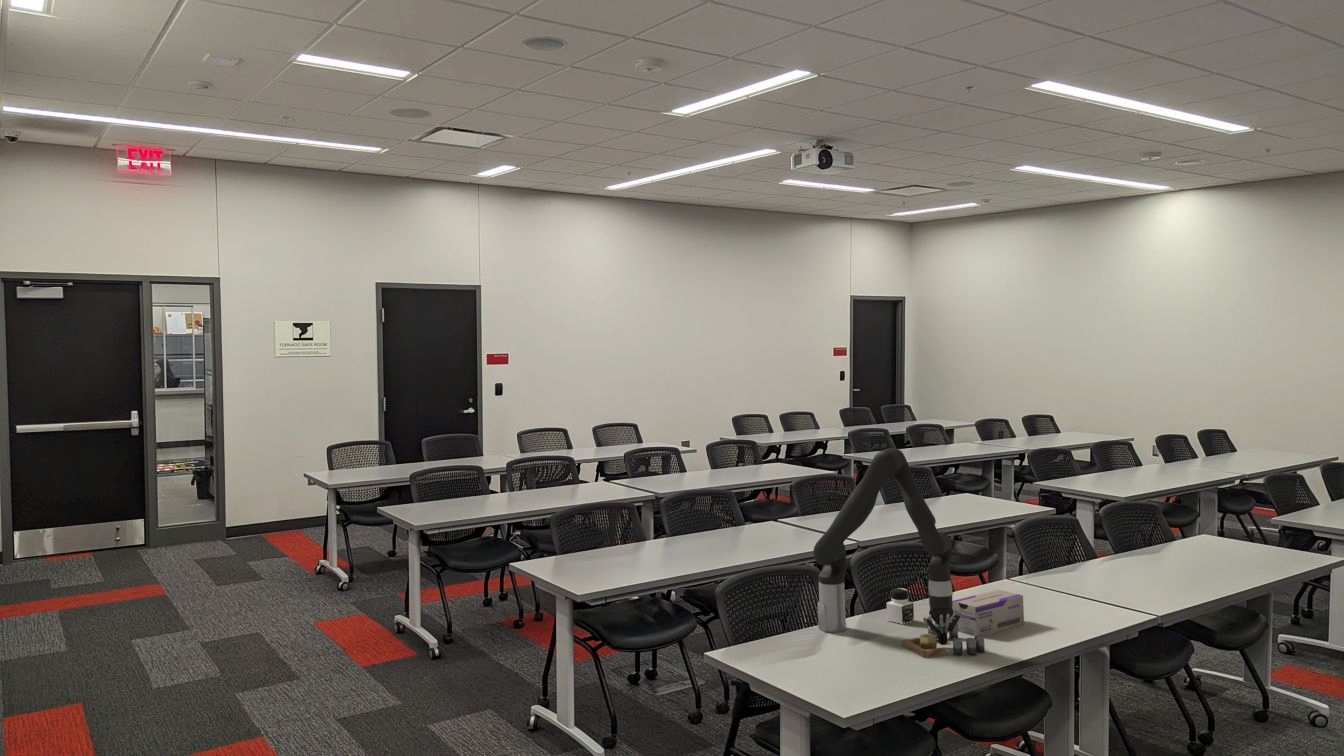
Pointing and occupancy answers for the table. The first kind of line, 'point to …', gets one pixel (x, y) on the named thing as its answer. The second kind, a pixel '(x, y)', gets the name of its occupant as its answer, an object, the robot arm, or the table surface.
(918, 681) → the table surface
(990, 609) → the surgical sutures box
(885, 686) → the table surface
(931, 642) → the brass nut
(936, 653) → the walnut bay
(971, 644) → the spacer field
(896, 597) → the medicine bottle
